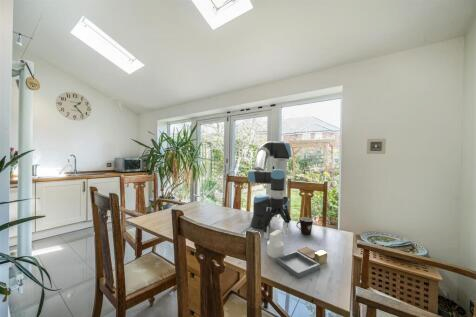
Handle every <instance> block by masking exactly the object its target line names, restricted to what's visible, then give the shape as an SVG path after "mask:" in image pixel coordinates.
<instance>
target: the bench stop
mask: <svg viewBox="0 0 476 317" xmlns="http://www.w3.org/2000/svg"><path fill="white" fill-rule="evenodd" d="M314 261H315V262H317V263H319V264H320V266H321V265H323V264H326V263H327V262H328V252H326V251H325V250H323V249H321V250H318V251H316V253H315V258H314Z"/></svg>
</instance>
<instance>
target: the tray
mask: <svg viewBox="0 0 476 317" xmlns="http://www.w3.org/2000/svg"><path fill="white" fill-rule="evenodd" d="M274 261H275V262H274V263H276V265H278V266H280V267H281V268H282V269H284V270H285V271H287V273H289V274H291V275H292V276H293V277H294V278H296V279H301V278H303V277H306V276H307V275H310V274H312V273H314V272H315V273H316V272H318V271H319V270H321V265H320V264H319V263H317V262H315V261H314V260H312V259H310V258H308V257H306V256H305V255H303V254H301V253H299V252H298V251H297V250H295V251H291V252H289V253H285V254H283V255H282V256H279V257H276V258H275V260H274Z"/></svg>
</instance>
